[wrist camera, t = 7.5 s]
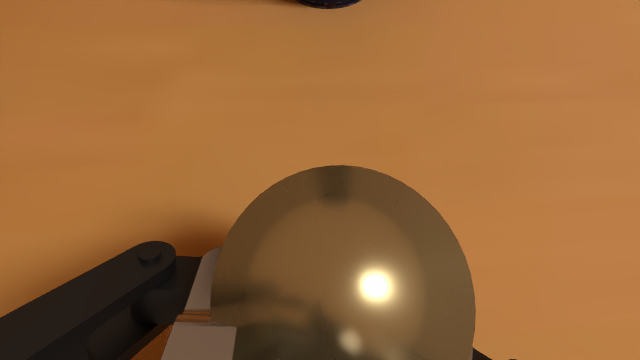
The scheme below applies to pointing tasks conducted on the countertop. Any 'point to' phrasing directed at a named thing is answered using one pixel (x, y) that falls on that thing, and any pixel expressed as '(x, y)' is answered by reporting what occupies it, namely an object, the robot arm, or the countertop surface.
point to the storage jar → (328, 3)
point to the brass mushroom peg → (344, 273)
